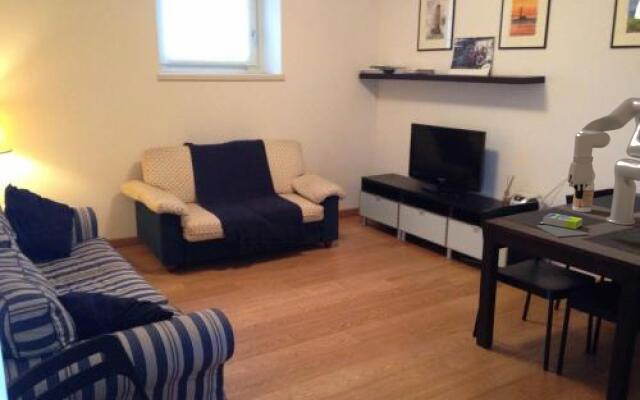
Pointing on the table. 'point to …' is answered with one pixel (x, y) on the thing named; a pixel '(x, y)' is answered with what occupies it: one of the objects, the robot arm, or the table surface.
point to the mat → (562, 231)
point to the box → (562, 221)
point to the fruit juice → (585, 198)
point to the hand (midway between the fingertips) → (578, 198)
